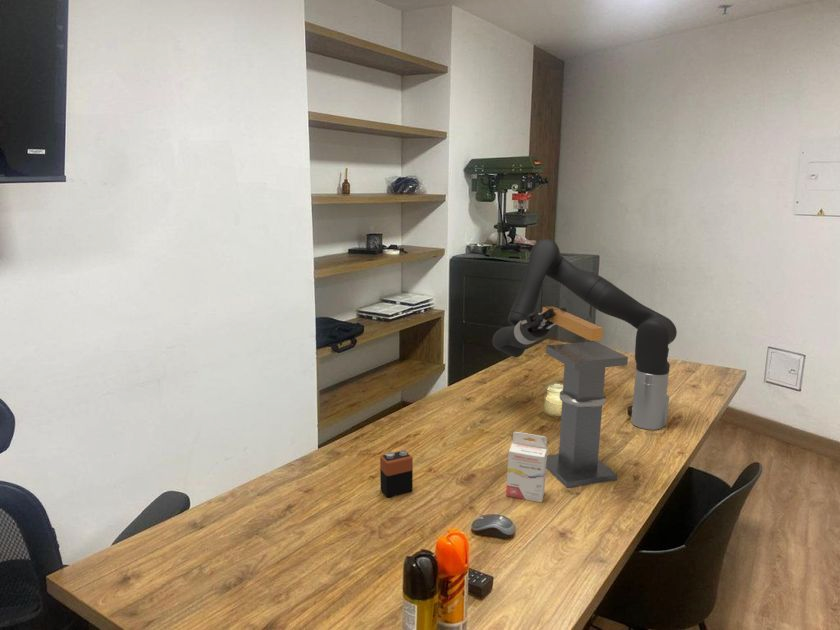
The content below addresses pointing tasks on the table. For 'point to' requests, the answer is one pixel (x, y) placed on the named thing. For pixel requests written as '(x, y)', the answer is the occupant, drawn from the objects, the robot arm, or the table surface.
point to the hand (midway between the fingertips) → (558, 311)
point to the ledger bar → (576, 324)
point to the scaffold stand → (582, 412)
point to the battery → (396, 473)
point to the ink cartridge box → (527, 467)
